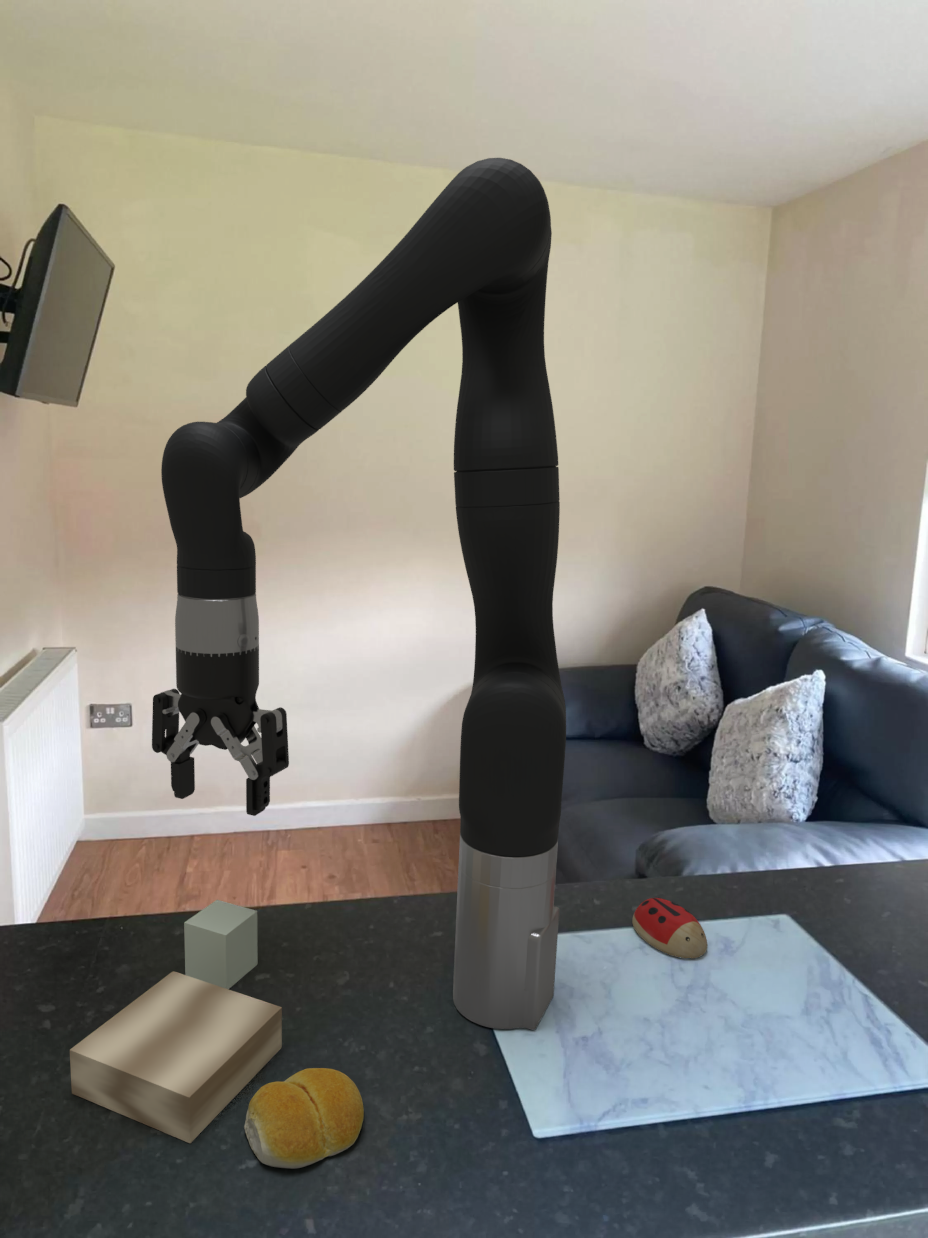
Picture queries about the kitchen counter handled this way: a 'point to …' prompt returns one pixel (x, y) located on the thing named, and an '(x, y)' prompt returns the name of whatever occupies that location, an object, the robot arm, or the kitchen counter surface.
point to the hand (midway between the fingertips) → (219, 804)
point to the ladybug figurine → (670, 928)
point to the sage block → (221, 944)
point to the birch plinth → (177, 1054)
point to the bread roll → (304, 1118)
